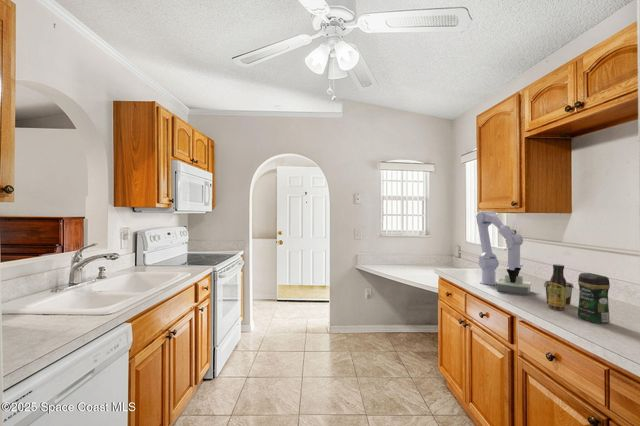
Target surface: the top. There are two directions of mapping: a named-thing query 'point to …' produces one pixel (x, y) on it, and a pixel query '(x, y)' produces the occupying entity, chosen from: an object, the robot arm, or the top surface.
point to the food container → (568, 291)
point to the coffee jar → (593, 298)
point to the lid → (518, 282)
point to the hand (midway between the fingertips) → (513, 281)
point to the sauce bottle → (557, 288)
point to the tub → (513, 289)
